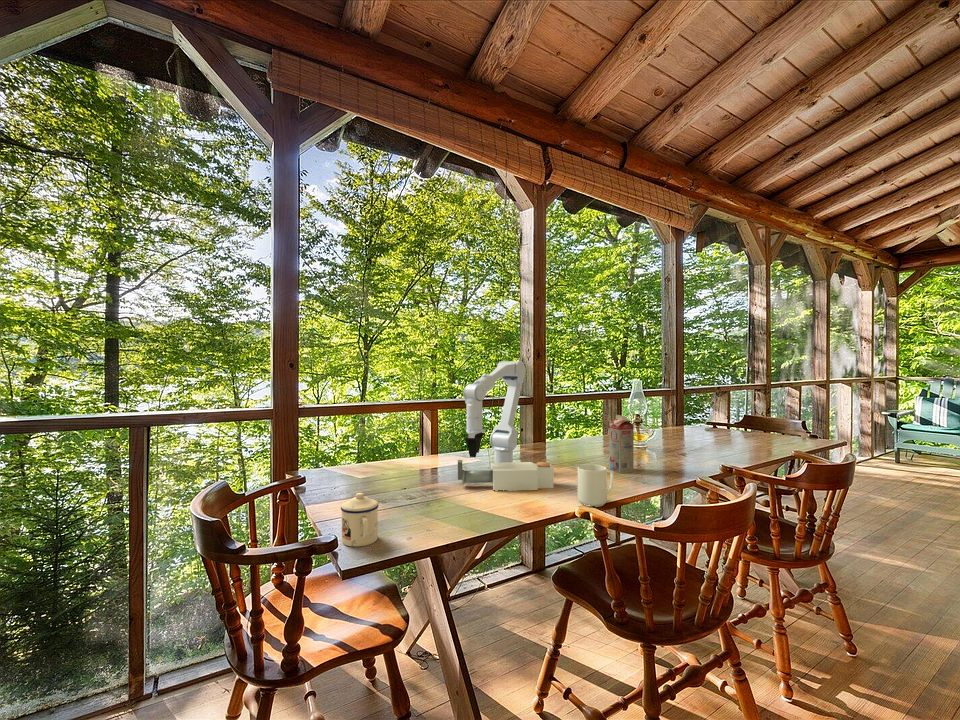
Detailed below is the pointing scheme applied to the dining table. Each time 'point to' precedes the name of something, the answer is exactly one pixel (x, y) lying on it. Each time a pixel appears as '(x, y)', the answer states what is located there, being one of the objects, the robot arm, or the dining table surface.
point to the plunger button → (543, 464)
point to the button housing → (521, 476)
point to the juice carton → (621, 445)
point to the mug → (593, 484)
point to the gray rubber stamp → (474, 475)
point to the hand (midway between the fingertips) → (474, 454)
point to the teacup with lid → (359, 521)
